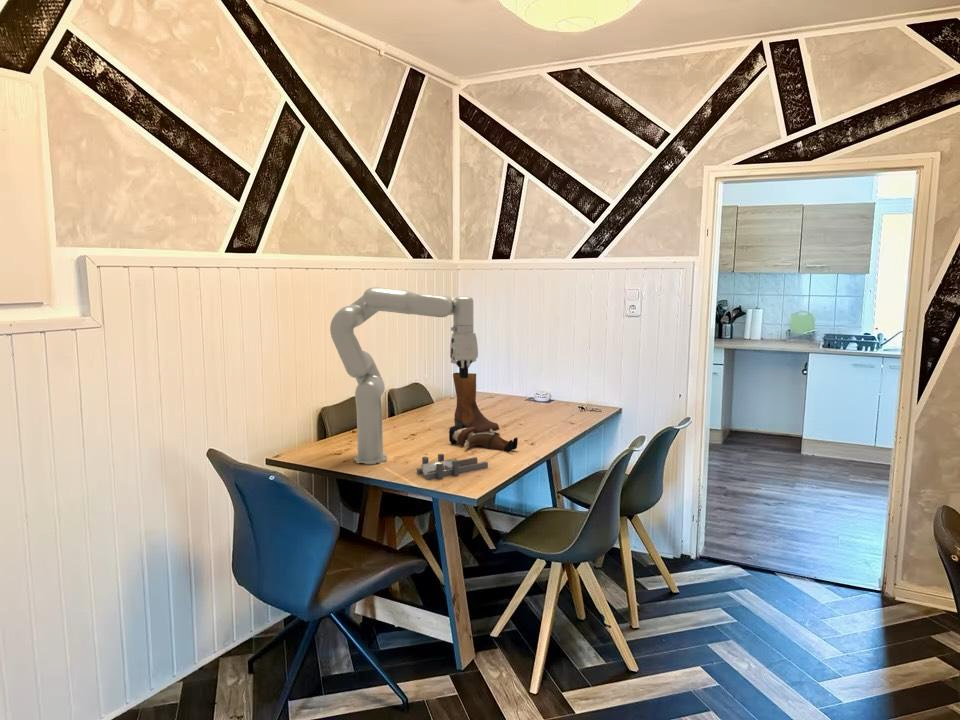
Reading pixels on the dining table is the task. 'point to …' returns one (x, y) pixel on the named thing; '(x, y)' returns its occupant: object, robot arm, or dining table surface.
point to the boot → (469, 405)
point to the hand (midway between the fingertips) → (463, 377)
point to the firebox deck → (453, 468)
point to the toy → (480, 439)
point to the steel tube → (432, 466)
